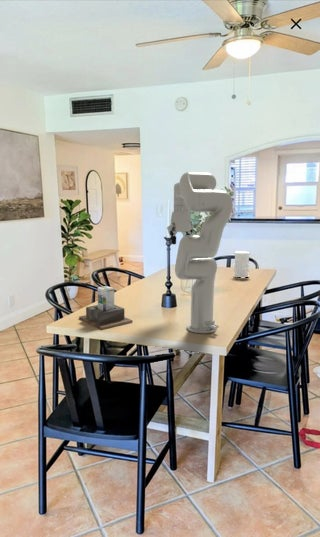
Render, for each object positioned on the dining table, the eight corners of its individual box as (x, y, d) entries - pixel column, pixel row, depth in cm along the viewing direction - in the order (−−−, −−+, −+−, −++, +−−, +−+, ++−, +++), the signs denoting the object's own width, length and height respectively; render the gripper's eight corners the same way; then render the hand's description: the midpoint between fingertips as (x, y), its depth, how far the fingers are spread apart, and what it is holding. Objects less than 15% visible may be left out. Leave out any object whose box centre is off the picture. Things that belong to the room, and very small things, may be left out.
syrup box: (97, 318, 178) (96, 287, 176) (107, 315, 182) (107, 285, 180) (104, 321, 174) (103, 289, 172) (115, 318, 178) (114, 287, 176)
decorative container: (239, 274, 289) (240, 250, 286) (252, 277, 280) (253, 252, 277) (229, 276, 282) (230, 252, 278) (242, 279, 273) (243, 253, 270)
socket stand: (132, 322, 176) (132, 309, 175) (101, 329, 166) (101, 316, 165) (108, 312, 191) (108, 300, 190) (79, 318, 181) (78, 306, 180)
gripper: (188, 208, 199) (187, 241, 202) (162, 208, 188) (162, 244, 191) (199, 208, 193) (198, 243, 196) (173, 209, 182) (172, 245, 185)
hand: (180, 243), depth 194 cm, fingers open, 9 cm apart
